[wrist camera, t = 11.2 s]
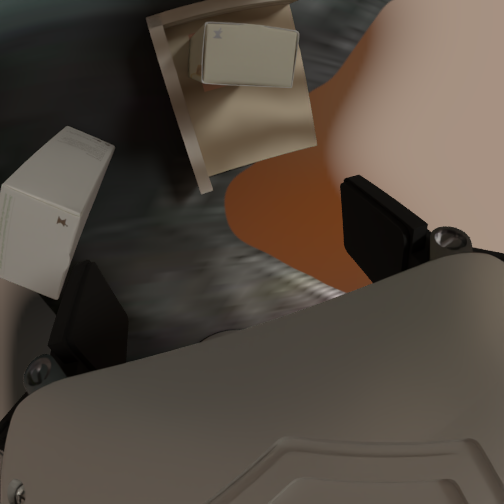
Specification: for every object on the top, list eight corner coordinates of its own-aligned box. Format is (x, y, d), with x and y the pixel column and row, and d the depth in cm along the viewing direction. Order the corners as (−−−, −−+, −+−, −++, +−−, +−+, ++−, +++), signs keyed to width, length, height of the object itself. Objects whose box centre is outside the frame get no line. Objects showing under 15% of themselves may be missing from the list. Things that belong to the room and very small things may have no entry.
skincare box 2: (186, 78, 27) (194, 85, 17) (189, 37, 24) (199, 20, 14) (251, 80, 28) (294, 90, 18) (254, 40, 26) (301, 30, 16)
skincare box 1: (68, 123, 26) (-1, 176, 14) (120, 146, 29) (85, 213, 17) (44, 190, 29) (-14, 274, 17) (92, 211, 32) (58, 305, 20)
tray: (314, 144, 34) (332, 155, 31) (197, 178, 34) (201, 194, 30) (284, -5, 24) (300, -13, 20) (149, 24, 23) (145, 17, 19)
